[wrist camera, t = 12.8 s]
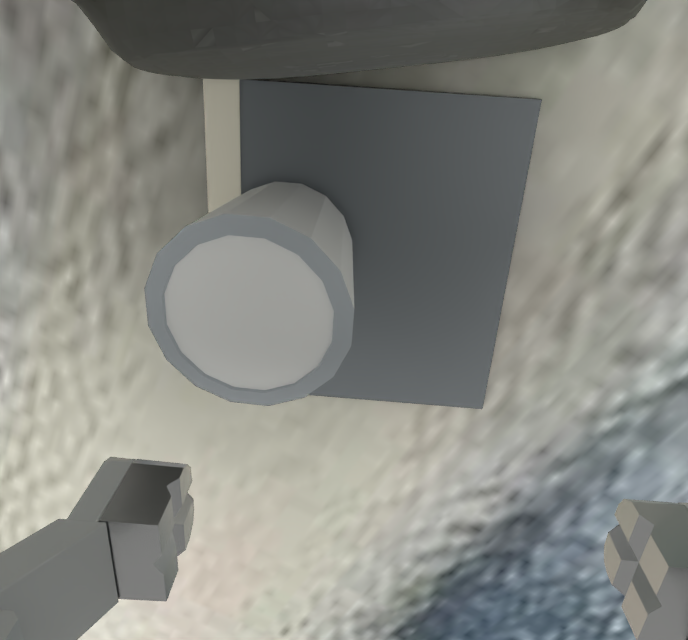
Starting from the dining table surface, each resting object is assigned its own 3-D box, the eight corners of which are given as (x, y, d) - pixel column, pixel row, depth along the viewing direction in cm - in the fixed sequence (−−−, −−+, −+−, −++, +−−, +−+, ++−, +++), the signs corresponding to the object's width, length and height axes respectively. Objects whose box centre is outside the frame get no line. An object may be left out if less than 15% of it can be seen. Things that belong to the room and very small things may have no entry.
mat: (206, 76, 22) (202, 76, 22) (539, 99, 22) (542, 99, 22) (217, 383, 28) (215, 388, 28) (481, 404, 28) (482, 410, 28)
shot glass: (305, 345, 27) (275, 440, 20) (179, 257, 25) (106, 330, 19) (400, 235, 24) (399, 307, 18) (265, 129, 22) (212, 166, 16)
